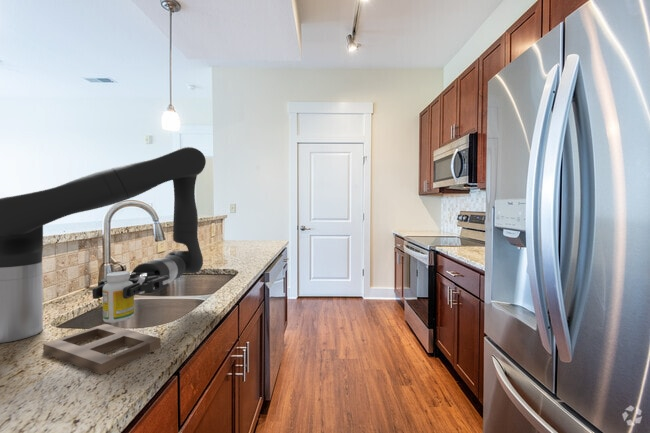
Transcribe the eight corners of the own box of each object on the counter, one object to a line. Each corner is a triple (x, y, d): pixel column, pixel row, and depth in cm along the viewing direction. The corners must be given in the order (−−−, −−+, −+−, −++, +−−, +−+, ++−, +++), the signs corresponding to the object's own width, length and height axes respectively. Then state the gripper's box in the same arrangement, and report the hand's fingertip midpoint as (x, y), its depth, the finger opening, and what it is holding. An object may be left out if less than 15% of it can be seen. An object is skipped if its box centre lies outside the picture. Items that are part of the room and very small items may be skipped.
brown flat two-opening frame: (43, 353, 62) (43, 343, 62) (105, 331, 73) (104, 323, 73) (101, 374, 54) (101, 364, 54) (160, 347, 65) (160, 338, 65)
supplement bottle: (96, 323, 59) (95, 276, 58) (113, 314, 64) (112, 270, 64) (125, 322, 59) (124, 275, 59) (139, 313, 65) (138, 270, 64)
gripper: (127, 259, 75) (72, 275, 59) (183, 259, 76) (145, 275, 59) (128, 288, 76) (73, 312, 59) (184, 288, 76) (146, 311, 59)
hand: (110, 293), depth 59 cm, fingers closed on supplement bottle, 5 cm apart
